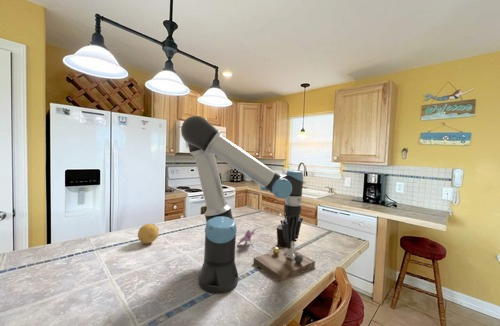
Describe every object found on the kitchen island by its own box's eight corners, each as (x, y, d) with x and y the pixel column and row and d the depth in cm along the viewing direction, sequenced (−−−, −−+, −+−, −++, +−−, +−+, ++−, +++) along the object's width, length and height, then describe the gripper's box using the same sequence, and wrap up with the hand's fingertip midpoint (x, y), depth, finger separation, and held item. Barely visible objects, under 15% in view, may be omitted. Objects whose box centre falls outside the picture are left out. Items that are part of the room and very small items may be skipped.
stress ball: (135, 247, 108) (143, 239, 103) (133, 229, 113) (141, 220, 108) (154, 245, 115) (163, 237, 111) (152, 228, 120) (160, 220, 116)
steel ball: (294, 264, 98) (291, 260, 97) (289, 262, 101) (286, 257, 100) (298, 258, 100) (295, 254, 99) (293, 256, 103) (290, 251, 102)
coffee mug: (279, 248, 113) (280, 230, 113) (273, 242, 122) (274, 224, 121) (298, 247, 116) (300, 229, 116) (291, 240, 125) (292, 224, 124)
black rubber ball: (298, 265, 92) (299, 258, 92) (292, 262, 94) (293, 254, 94) (303, 263, 94) (304, 256, 94) (297, 260, 96) (298, 253, 96)
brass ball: (275, 256, 99) (276, 249, 98) (270, 253, 101) (271, 246, 101) (281, 255, 101) (281, 248, 101) (276, 252, 103) (276, 245, 103)
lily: (257, 243, 121) (251, 227, 123) (265, 243, 111) (258, 225, 113) (239, 252, 116) (232, 235, 118) (245, 253, 106) (237, 235, 108)
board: (280, 282, 83) (280, 275, 83) (253, 263, 97) (253, 257, 97) (314, 266, 97) (315, 261, 96) (286, 251, 110) (287, 247, 110)
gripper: (289, 207, 91) (286, 261, 92) (308, 204, 99) (305, 254, 100) (277, 203, 97) (274, 254, 98) (296, 201, 105) (293, 248, 106)
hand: (289, 254), depth 99 cm, fingers closed
